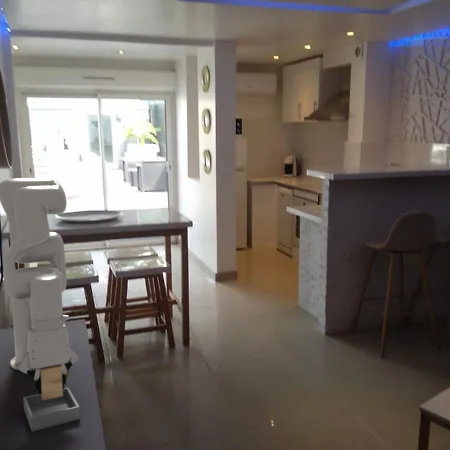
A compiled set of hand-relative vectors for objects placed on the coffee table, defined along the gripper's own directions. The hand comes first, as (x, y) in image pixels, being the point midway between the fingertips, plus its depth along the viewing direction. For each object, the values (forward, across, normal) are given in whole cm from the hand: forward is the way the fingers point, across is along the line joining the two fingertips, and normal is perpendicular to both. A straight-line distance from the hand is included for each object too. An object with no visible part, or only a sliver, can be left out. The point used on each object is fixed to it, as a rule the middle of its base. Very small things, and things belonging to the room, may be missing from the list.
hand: (50, 388), depth 131 cm
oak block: (+1, 0, 0) cm, 1 cm away
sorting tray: (+7, 0, 0) cm, 7 cm away
